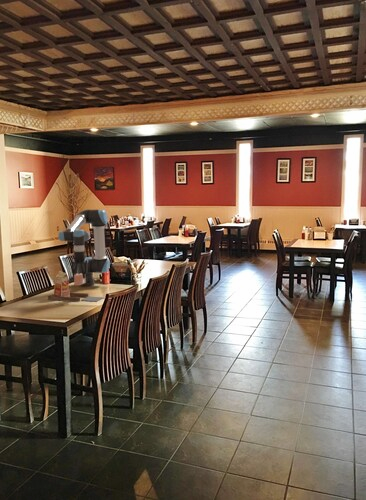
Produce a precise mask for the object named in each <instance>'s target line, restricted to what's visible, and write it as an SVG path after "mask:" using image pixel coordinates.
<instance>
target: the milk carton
mask: <svg viewBox="0 0 366 500" xmlns="http://www.w3.org/2000/svg"><path fill="white" fill-rule="evenodd" d="M69 286H70V284H69V279H68V275H67V272H63V271H60V270H59V271H58V273H57V274H56V276H55V281H54V289H53V294H54V295H53V296H62V297H71V296H70V293H71V292H70V287H69Z"/></svg>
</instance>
